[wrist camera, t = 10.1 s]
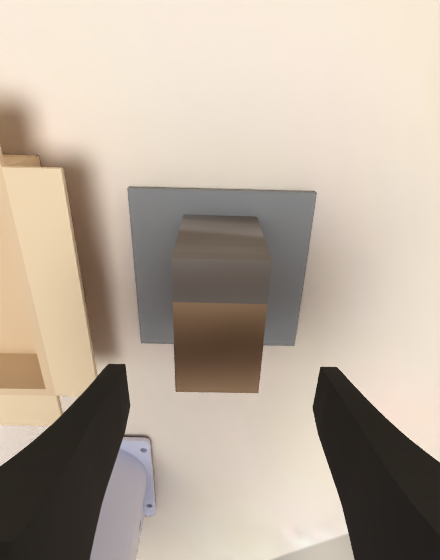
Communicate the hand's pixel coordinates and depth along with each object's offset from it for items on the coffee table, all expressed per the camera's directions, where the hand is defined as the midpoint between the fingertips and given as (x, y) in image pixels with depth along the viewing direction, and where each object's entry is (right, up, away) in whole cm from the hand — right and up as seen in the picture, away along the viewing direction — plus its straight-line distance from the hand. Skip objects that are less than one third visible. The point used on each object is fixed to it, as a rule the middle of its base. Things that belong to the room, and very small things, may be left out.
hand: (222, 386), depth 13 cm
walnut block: (0, +4, +8) cm, 9 cm away
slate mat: (0, +4, +8) cm, 9 cm away
